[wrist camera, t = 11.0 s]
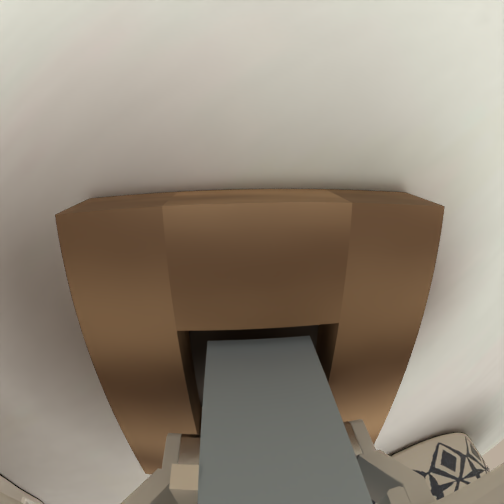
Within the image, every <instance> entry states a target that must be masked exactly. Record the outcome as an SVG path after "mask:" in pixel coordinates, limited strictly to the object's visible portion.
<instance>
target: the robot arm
mask: <svg viewBox="0 0 504 504" xmlns="http://www.w3.org/2000/svg"><path fill="white" fill-rule="evenodd" d="M343 423H344V426H345V428H346V431H347V434H348V436H349V439H350V442H351V445H352V447H353V450H354V453H355V455H356V458H357V461H358V464H359V466H360V469H361V472H362V475H363V478H364V480H365V483H366V486H367V489H368V492H369V494H370V497H371V499H372V500H373V501H375V502H376V503H377V504H504V463H502V464H501V465H499V466H498V467H496V468H495V469H493V470H491V471H490V472H488V473H487V474H485V475H483V476H482V477H480V478H478V479H477V480H475V481H473V482H471V483H470V484H468V485H466V486H464V487H462V488H461V489H459V490H457V491H455V492H453V493H451V494H449V495H447V496H445V497H443V498H441V499H439V500H437V501H435V499H434V497H433V495H432V493H431V491H430V489H429V487H428V485H427V483H426V480H425V478H424V476H422V475H420V474H419V473H417V472H415V471H413V470H412V469H410V468H408V467H407V466H405V465H403V464H402V463H400V462H398V461H397V460H395V459H394V458H392V457H390V456H389V455H387V454H386V453H384V452H382V451H381V450H377V451H376V449H375V447H374V444H373V442H372V440H371V437H370V435H369V433H368V431H367V428H366V426H365V424H364V421H363V420H362V419H358V420H353V421H346V422H343ZM200 437H201V434H181V433H168V435H167V437H166V443H165V450H164V456H163V463H162V469H159V468H158V469H157V470H156V471H155V472H154V473H153V474H152V475H151V476H150V477H149V478H147V479H146V480H145V481H144V482H143V483H142V484H141V485H140V486H139V487H138V488H137V489H136V490H135V491H134V492H133V493H132V494H130V495H129V496H128V497H127V498H126V499H125V500H124V501H123V502H122V503H121V504H178V503H177V501H176V500H175V498H174V496H173V494H172V493H171V491H170V489H169V485H170V476H171V467H172V464H187V465H199V455H200ZM0 504H43V503H42V502H41V501H39V500H38V499H36V498H34V497H33V496H31V495H29V494H27V493H25V492H24V491H22V490H21V489H19V488H18V487H16V486H15V485H13V484H12V483H10V482H9V481H8V480H6V479H5V478H3V477H2V476H0Z"/></svg>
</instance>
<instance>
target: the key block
mask: <svg viewBox="0 0 504 504" xmlns="http://www.w3.org/2000/svg"><path fill="white" fill-rule="evenodd" d="M169 489H170V491H171V493H172V494H173V496H174V498H175V500H176V501H177V503H178V504H373V503H372V500H371V497H370V494H369V492H368V489H367V486H366V483H365V480H364V478H363V475H362V472H361V469H360V466H359V464H358V461H357V458H356V455H355V453H354V450H353V447H352V445H351V442H350V439H349V436H348V434H347V431H346V428H345V426H344V423H343V420H342V418H341V415H340V412H339V410H338V407H337V405H336V402H335V399H334V397H333V394H332V391H331V389H330V386H329V384H328V381H327V378H326V376H325V373H324V371H323V368H322V366H321V363H320V360H319V358H318V355H317V353H316V350H315V348H314V345H313V343H312V340H311V338H310V336H298V337H285V338H269V339H250V340H221V341H208V342H207V354H206V366H205V378H204V391H203V405H202V421H201V437H200V455H199V465H187V464H172V467H171V476H170V485H169Z"/></svg>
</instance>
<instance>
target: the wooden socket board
mask: <svg viewBox="0 0 504 504" xmlns="http://www.w3.org/2000/svg"><path fill="white" fill-rule="evenodd" d="M443 214H444V206H442V205H439V204H436V203H434V202H431V201H428V200H425V199H423V198H420V197H417V196H414V195H411V194H408V193H405V192H388V191H367V190H338V189H234V190H204V191H183V192H165V193H149V194H136V195H123V196H112V197H101V198H91V199H88V200H85V201H83V202H81V203H79V204H77V205H75V206H72V207H70V208H68V209H66V210H64V211H62V212H60V213H58V214H56V215H55V217H56V224H57V230H58V236H59V242H60V247H61V252H62V257H63V262H64V267H65V271H66V276H67V280H68V284H69V288H70V292H71V296H72V300H73V303H74V307H75V310H76V314H77V317H78V321H79V324H80V327H81V330H82V333H83V336H84V339H85V342H86V345H87V348H88V351H89V354H90V357H91V360H92V362H93V365H94V368H95V370H96V373H97V375H98V378H99V380H100V383H101V385H102V388H103V390H104V392H105V395H106V397H107V399H108V402H109V404H110V406H111V408H112V411H113V413H114V415H115V417H116V419H117V421H118V423H119V425H120V427H121V429H122V431H123V433H124V435H125V437H126V439H127V441H128V443H129V445H130V447H131V449H132V451H133V452H134V454H135V456H136V458H137V460H138V461H139V463H140V465H141V467H142V468H143V470H144V472H145V473H146V474H153V473H154V472H155V471H156V470H157V469H158V468H159V469H162V463H163V456H164V450H165V443H166V437H167V435H168V433H181V434H201V421H202V405H203V391H204V378H205V366H206V354H207V342H208V341H221V340H250V339H269V338H285V337H298V336H310V338H311V340H312V343H313V345H314V348H315V350H316V353H317V355H318V358H319V360H320V363H321V366H322V368H323V371H324V373H325V376H326V378H327V381H328V384H329V386H330V389H331V391H332V394H333V397H334V399H335V402H336V405H337V407H338V410H339V412H340V415H341V418H342V420H343V422H346V421H353V420H358V419H362V420H363V421H364V424H365V426H366V428H367V431H368V433H369V435H370V437H371V440H372V442H373V444H374V443H375V441H376V439H377V437H378V435H379V433H380V430H381V428H382V426H383V424H384V422H385V420H386V417H387V415H388V413H389V411H390V408H391V406H392V404H393V401H394V399H395V396H396V394H397V391H398V389H399V386H400V384H401V381H402V379H403V376H404V373H405V371H406V368H407V365H408V362H409V359H410V356H411V353H412V350H413V347H414V344H415V341H416V338H417V335H418V331H419V328H420V325H421V321H422V318H423V314H424V310H425V306H426V303H427V299H428V295H429V290H430V286H431V282H432V277H433V273H434V268H435V263H436V258H437V253H438V247H439V241H440V235H441V228H442V222H443Z"/></svg>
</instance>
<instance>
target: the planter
mask: <svg viewBox="0 0 504 504" xmlns="http://www.w3.org/2000/svg"><path fill="white" fill-rule="evenodd" d="M390 457H392V458H394V459H395V460H397V461H398V462H400V463H402V464H403V465H405V466H407V467H408V468H410V469H412V470H413V471H415V472H417V473H419V474H420V475H422V476H424V478H425V480H426V483H427V485H428V487H429V489H430V491H431V493H432V495H433V497H434V499H435V501H437V500H439V499H441V498H443V497H445V496H447V495H449V494H451V493H453V492H455V491H457V490H459V489H461V488H462V487H464V486H466V485H468V484H470V483H471V482H473V481H475V480H477V479H478V478H480V477H482V476H483V475H485V474H487V473H488V472H490V470H489V468H488V466H487V465H486V464H485V462H484V460H483V458H482V457H481V455H480V454H479V452H478V451H477V449H476V447H475V446H474V444H473V443H472V441H471V440H470V439H469V437H468V436H467V435H466V434H463V433H451V434H445V435H441V436H437V437H434V438H431V439H428V440H425V441H423V442H420V443H418V444H416V445H413V446H411V447H409V448H406V449H404V450H402V451H400V452H398V453H396V454H394V455H392V456H390ZM371 500H372V499H371ZM372 503H373V504H377V503H376V502H375V501H373V500H372Z"/></svg>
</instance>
